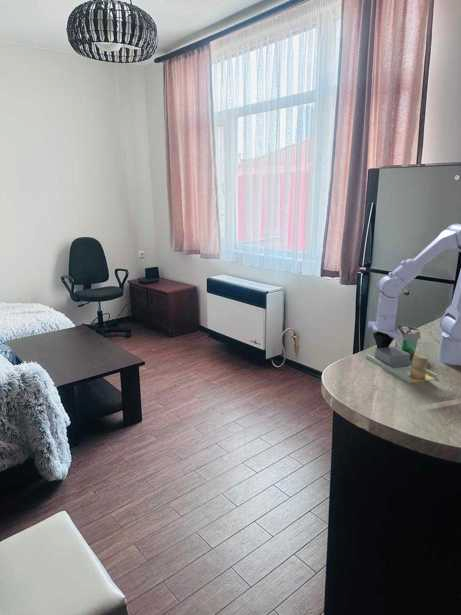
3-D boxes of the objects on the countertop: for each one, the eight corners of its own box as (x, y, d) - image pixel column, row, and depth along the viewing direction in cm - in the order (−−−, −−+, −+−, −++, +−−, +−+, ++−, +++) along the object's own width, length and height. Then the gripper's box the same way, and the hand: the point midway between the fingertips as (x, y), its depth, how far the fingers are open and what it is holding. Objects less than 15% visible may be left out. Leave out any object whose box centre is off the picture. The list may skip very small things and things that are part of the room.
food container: (421, 365, 135) (425, 335, 132) (400, 364, 136) (404, 334, 133) (412, 352, 146) (416, 324, 144) (394, 350, 147) (397, 323, 145)
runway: (390, 357, 141) (391, 351, 141) (436, 381, 123) (437, 374, 122) (364, 360, 138) (365, 354, 137) (408, 386, 120) (409, 378, 119)
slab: (393, 358, 138) (395, 346, 137) (408, 366, 131) (410, 354, 130) (374, 360, 135) (375, 348, 134) (388, 368, 129) (390, 356, 128)
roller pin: (417, 373, 126) (420, 354, 124) (428, 379, 122) (431, 359, 121) (406, 375, 124) (409, 356, 123) (417, 380, 121) (420, 361, 119)
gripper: (361, 309, 140) (357, 348, 143) (391, 321, 126) (386, 364, 130) (379, 308, 142) (375, 346, 145) (410, 320, 129) (404, 361, 132)
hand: (381, 354), depth 138 cm, fingers closed
